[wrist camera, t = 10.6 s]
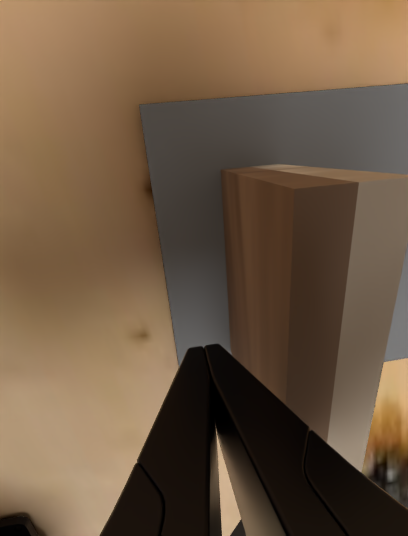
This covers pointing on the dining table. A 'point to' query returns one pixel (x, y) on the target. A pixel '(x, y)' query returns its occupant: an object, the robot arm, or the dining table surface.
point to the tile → (315, 288)
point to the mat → (248, 155)
